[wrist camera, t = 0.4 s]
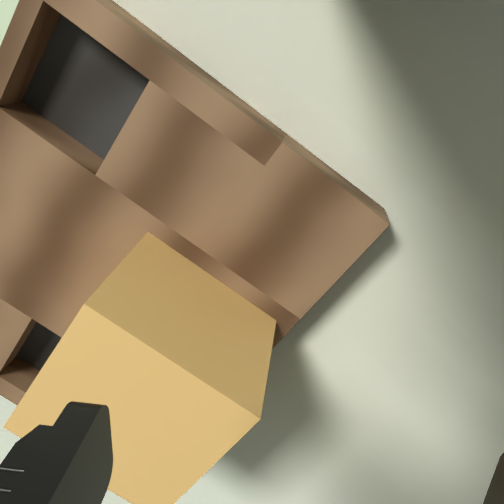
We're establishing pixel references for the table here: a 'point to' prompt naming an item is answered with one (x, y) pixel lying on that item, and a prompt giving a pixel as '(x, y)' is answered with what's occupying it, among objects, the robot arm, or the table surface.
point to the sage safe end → (6, 15)
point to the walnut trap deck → (148, 180)
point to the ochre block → (159, 371)
